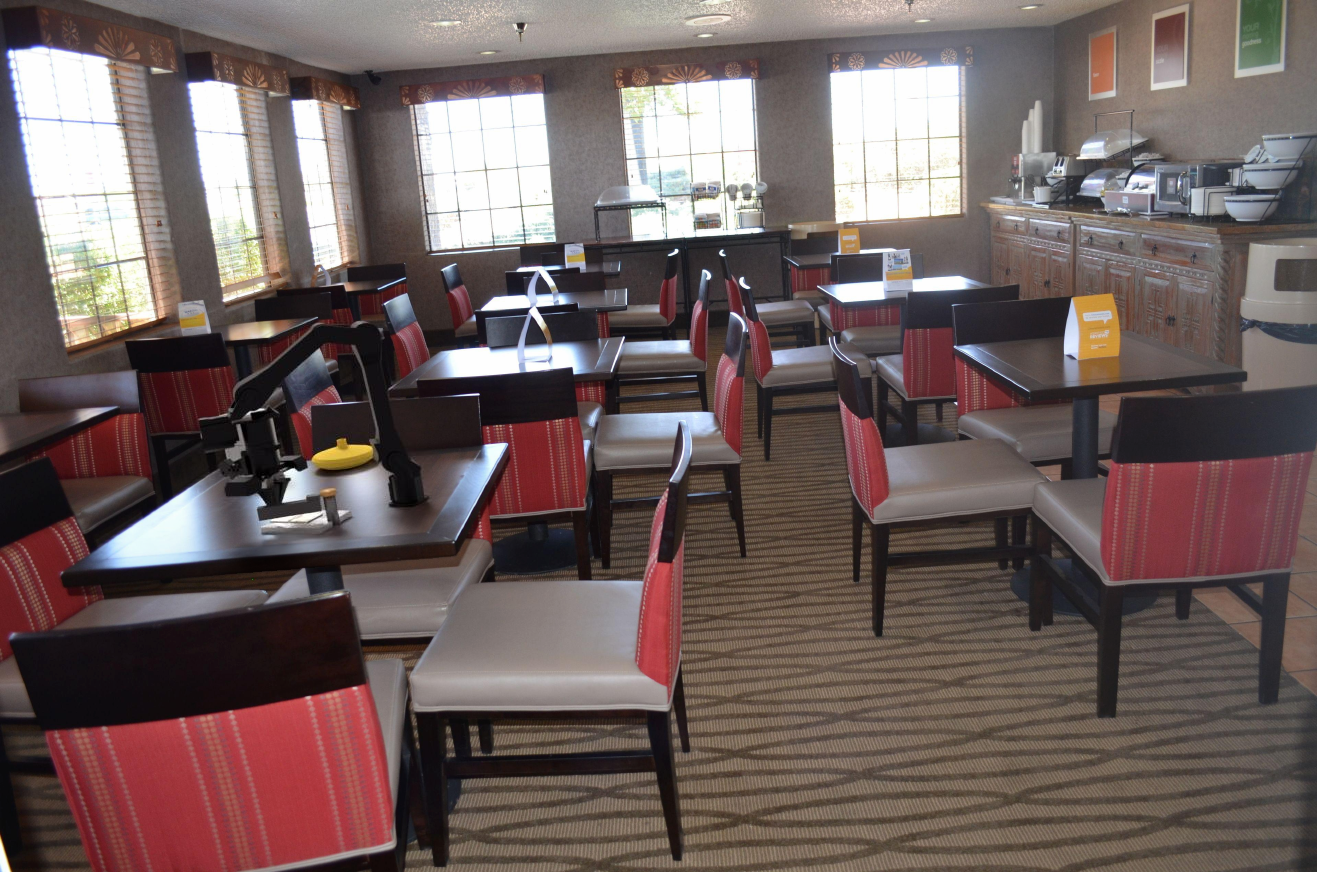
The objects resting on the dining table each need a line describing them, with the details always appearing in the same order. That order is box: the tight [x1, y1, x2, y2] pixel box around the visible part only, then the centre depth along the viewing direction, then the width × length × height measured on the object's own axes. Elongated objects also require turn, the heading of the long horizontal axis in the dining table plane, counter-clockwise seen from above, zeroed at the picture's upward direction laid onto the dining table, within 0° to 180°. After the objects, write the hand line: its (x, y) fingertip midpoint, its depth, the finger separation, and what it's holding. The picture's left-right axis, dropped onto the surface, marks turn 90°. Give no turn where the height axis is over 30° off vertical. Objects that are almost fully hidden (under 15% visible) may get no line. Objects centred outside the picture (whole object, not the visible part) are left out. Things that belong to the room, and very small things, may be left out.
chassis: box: [260, 494, 353, 535], centre depth 197 cm, size 15×11×6 cm
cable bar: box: [256, 487, 338, 522], centre depth 193 cm, size 15×3×4 cm, turn 105°
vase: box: [311, 438, 374, 471], centre depth 244 cm, size 16×16×7 cm
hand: (276, 515), depth 195 cm, fingers closed
